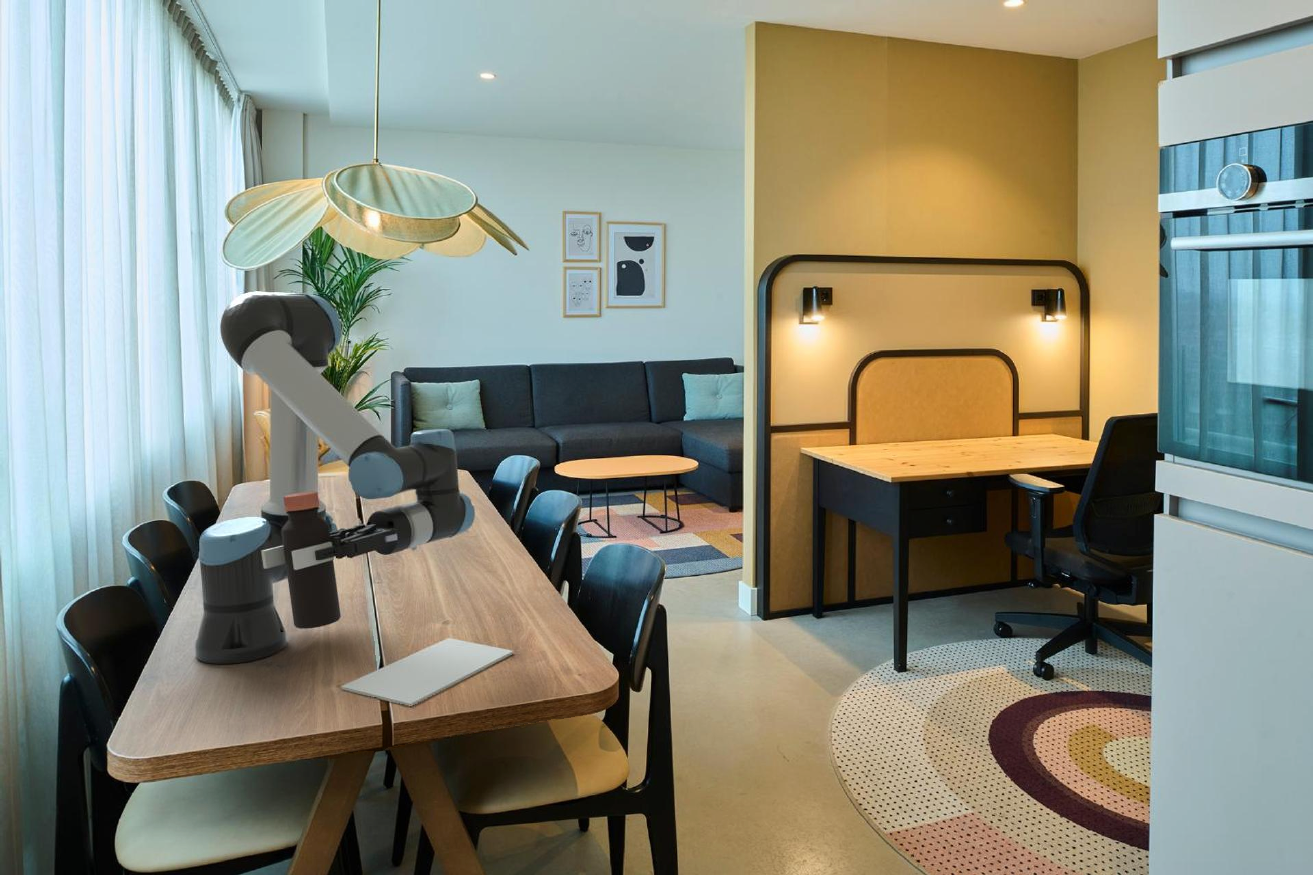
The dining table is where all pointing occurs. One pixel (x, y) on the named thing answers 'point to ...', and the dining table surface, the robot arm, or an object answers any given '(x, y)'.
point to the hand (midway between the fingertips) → (279, 560)
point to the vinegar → (314, 583)
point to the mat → (427, 671)
